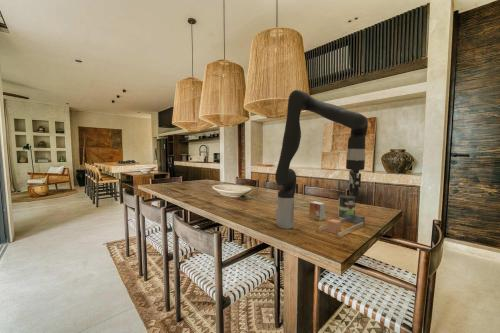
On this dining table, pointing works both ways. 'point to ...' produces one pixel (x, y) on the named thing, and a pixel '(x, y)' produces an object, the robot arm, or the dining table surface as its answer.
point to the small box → (317, 210)
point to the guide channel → (348, 218)
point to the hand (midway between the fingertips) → (353, 194)
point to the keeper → (333, 226)
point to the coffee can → (346, 205)
